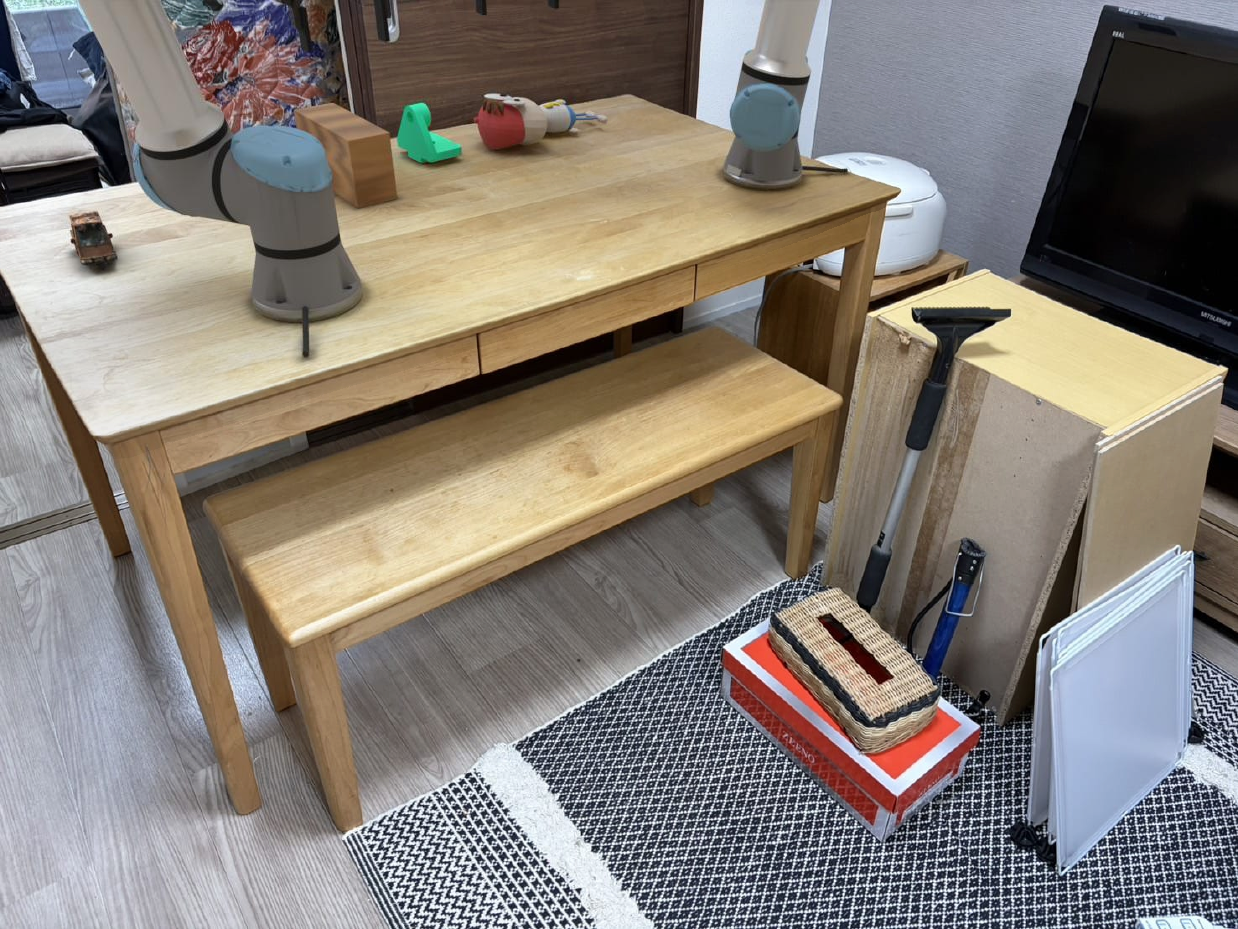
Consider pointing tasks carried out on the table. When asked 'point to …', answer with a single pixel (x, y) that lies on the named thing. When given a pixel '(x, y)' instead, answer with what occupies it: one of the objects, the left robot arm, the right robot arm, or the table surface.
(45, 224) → the table surface
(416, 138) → the camera mount
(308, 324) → the left robot arm
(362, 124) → the box
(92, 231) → the toy car
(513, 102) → the toy
